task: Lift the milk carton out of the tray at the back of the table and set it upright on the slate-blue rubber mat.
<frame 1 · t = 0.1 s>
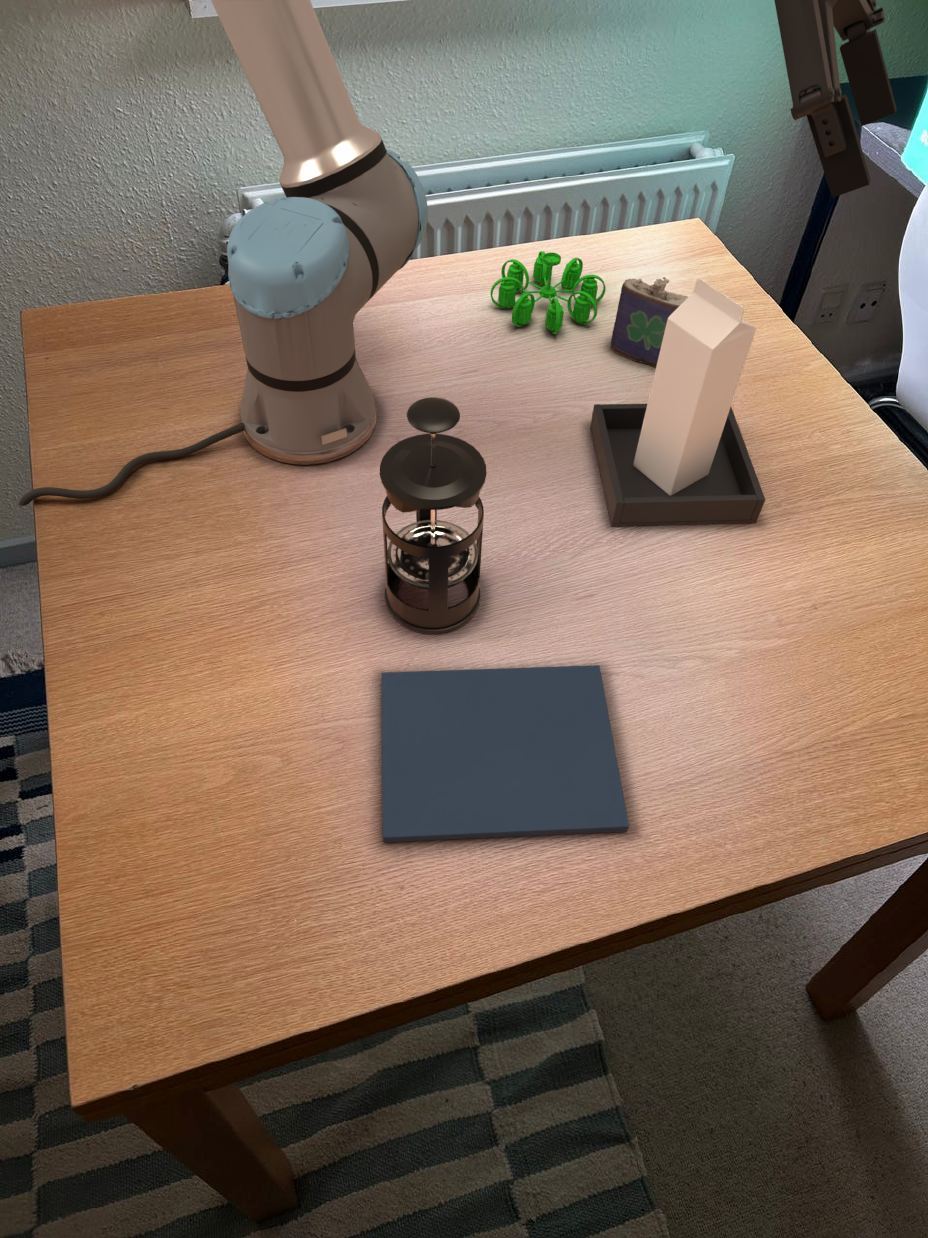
hand: (866, 152, 73), 36 cm above the table, tool tilted 35°, fingers open, 13 cm apart
mat: (498, 751, 79), on the table
milk: (670, 471, 101), resting on tray
tray: (669, 473, 101), on the table
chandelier: (546, 307, 120), on the table
flask: (643, 357, 114), on the table
french press: (432, 593, 90), on the table
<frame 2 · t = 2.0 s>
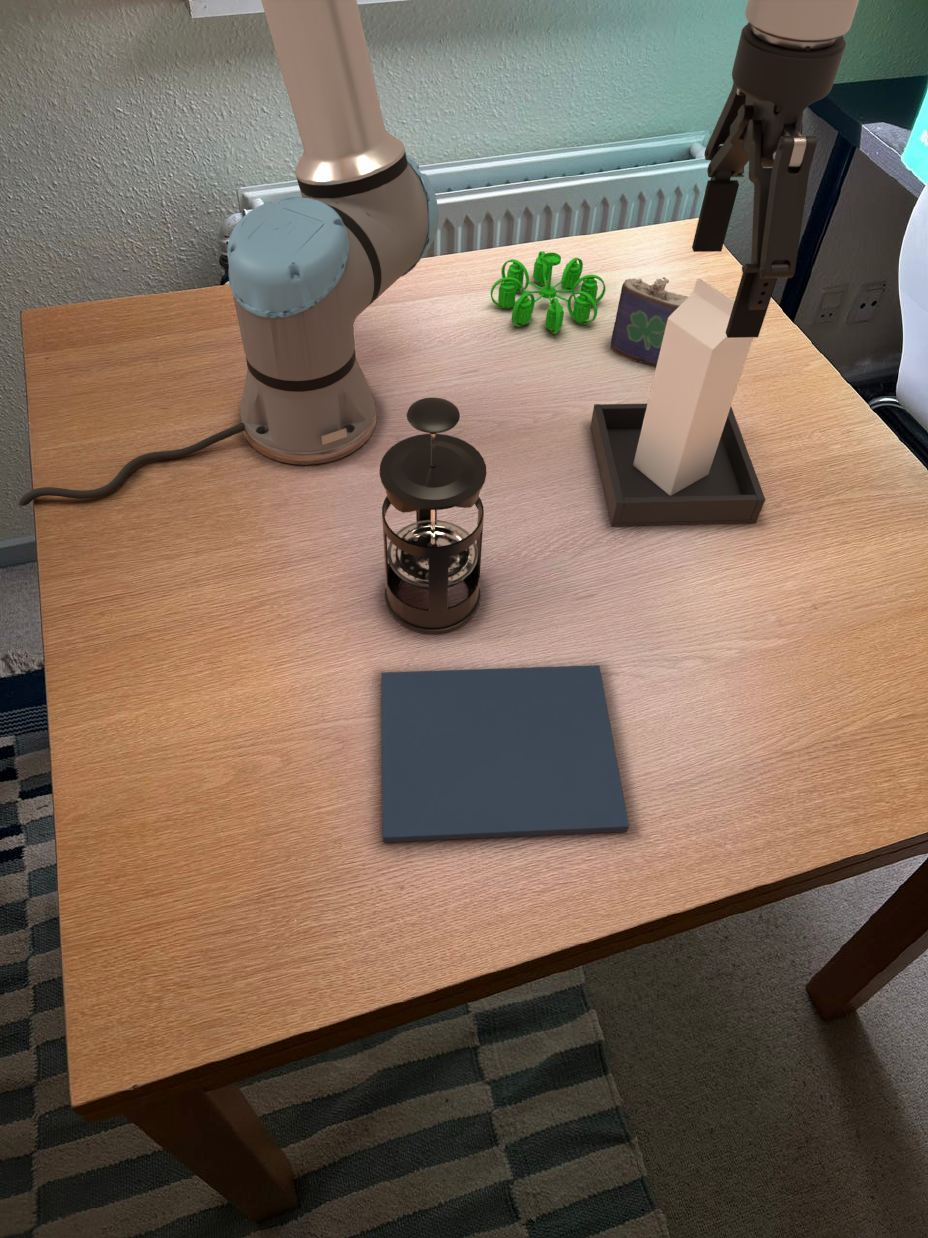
hand: (723, 290, 83), 23 cm above the table, tool pointing down, fingers open, 13 cm apart
nothing on the table moved.
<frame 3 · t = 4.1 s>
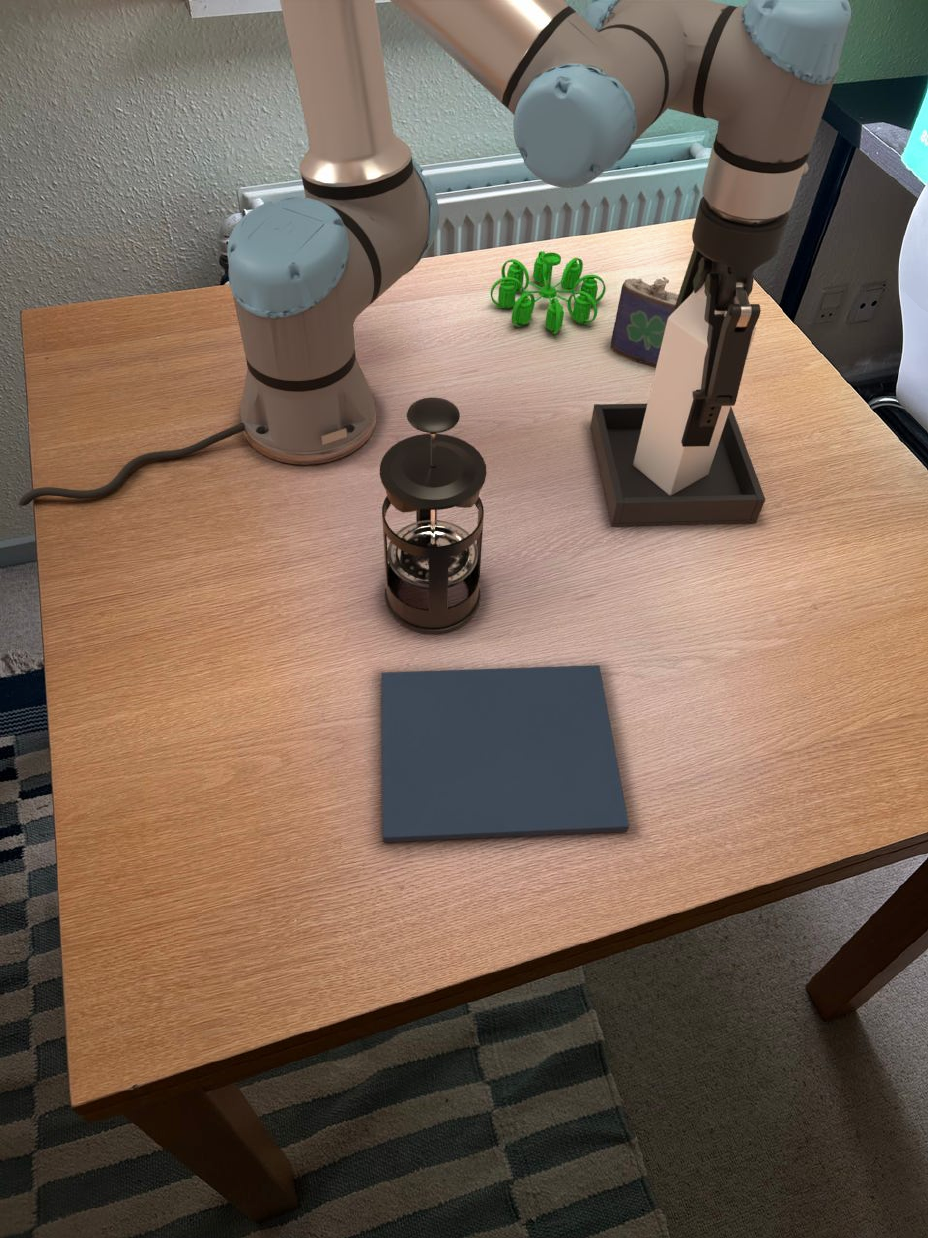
hand: (685, 414, 95), 8 cm above the table, tool pointing down, fingers closed on milk, 8 cm apart
milk: (669, 471, 101), resting on tray, touching gripper
everything else where it was.
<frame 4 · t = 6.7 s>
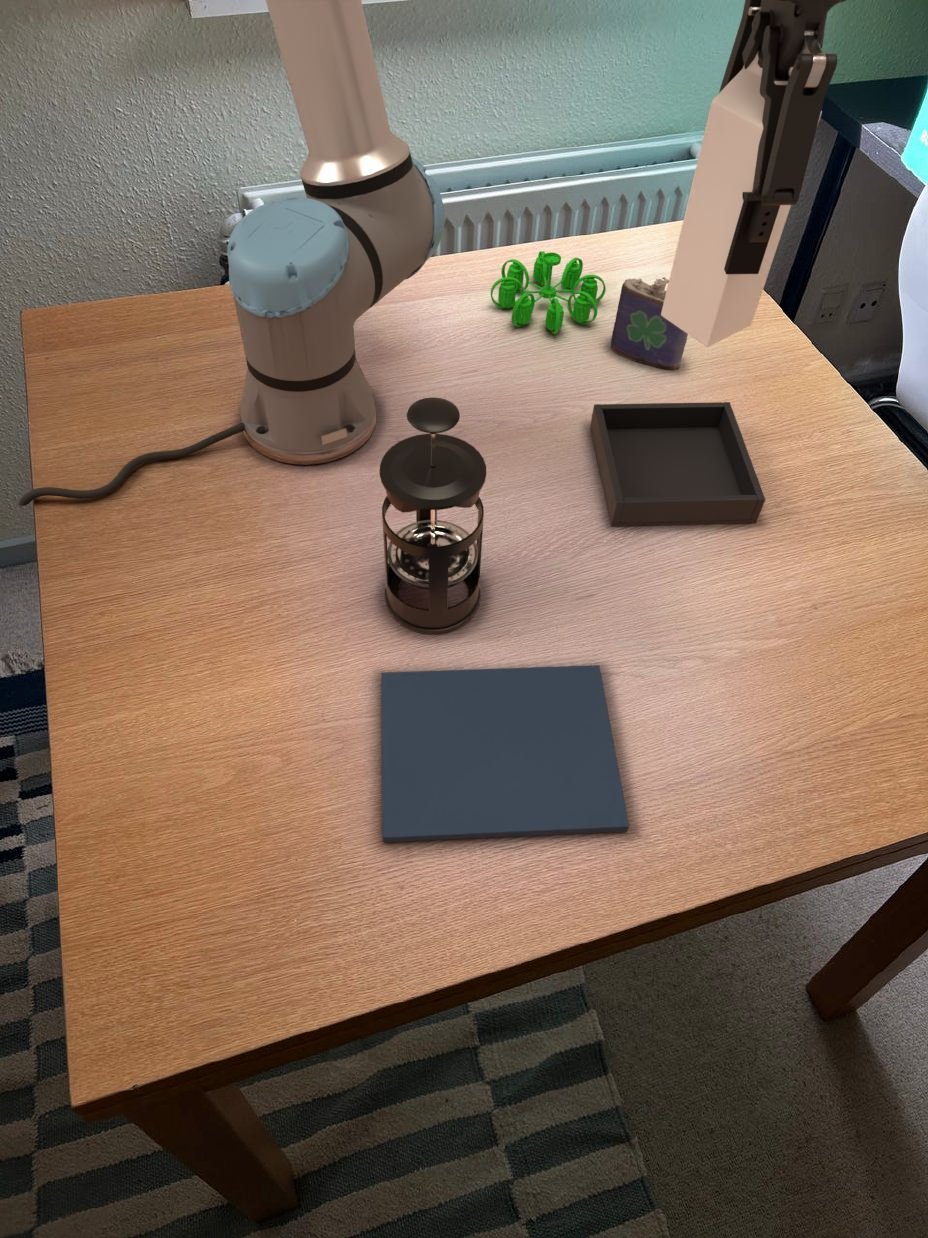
hand: (727, 241, 78), 28 cm above the table, tool pointing down, fingers closed on milk, 8 cm apart
milk: (705, 322, 84), point 20 cm above the table, touching gripper
everything else where it was.
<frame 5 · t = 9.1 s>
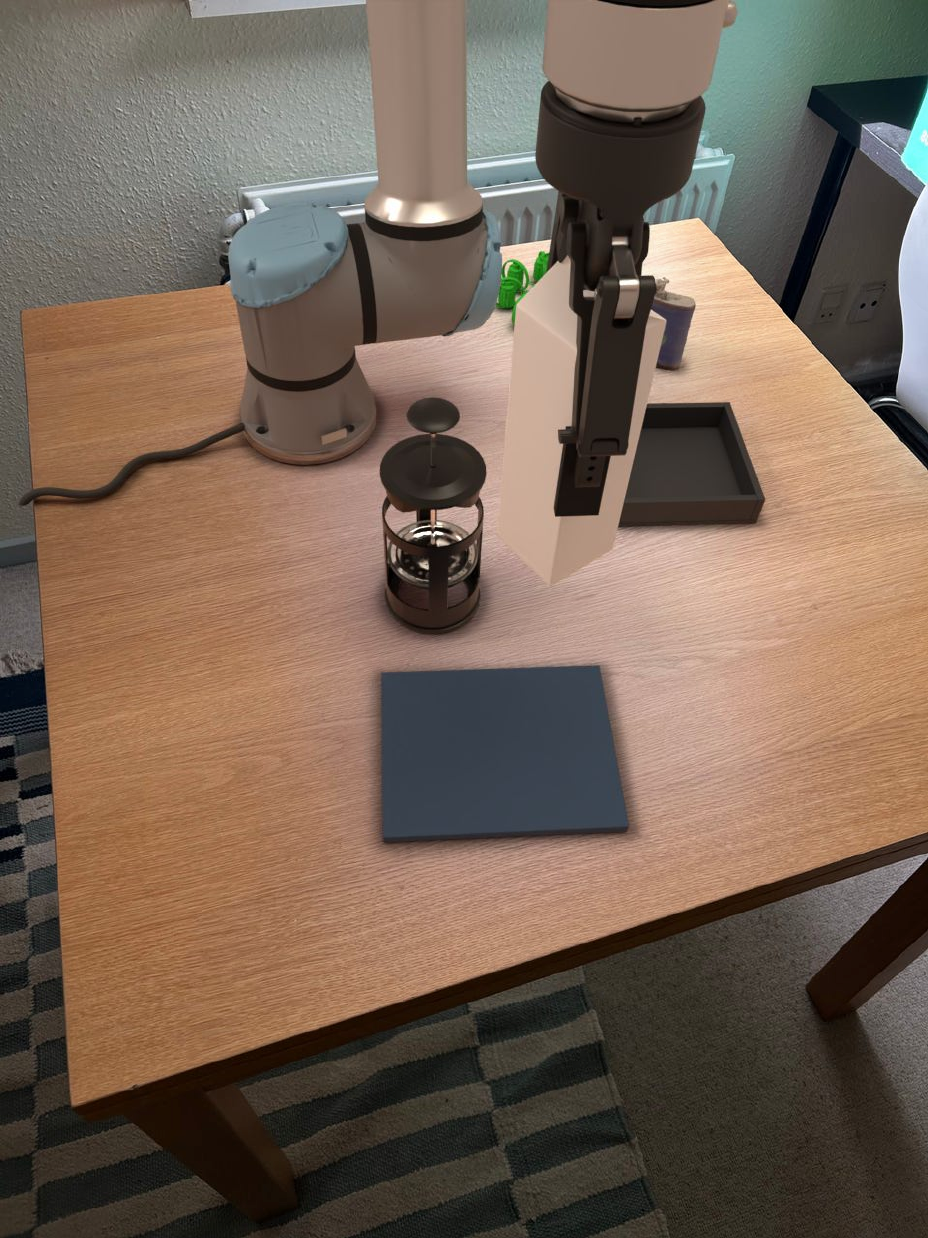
hand: (565, 462, 59), 29 cm above the table, tool pointing down, fingers closed on milk, 8 cm apart
milk: (553, 545, 65), point 21 cm above the table, touching gripper
everything else where it was.
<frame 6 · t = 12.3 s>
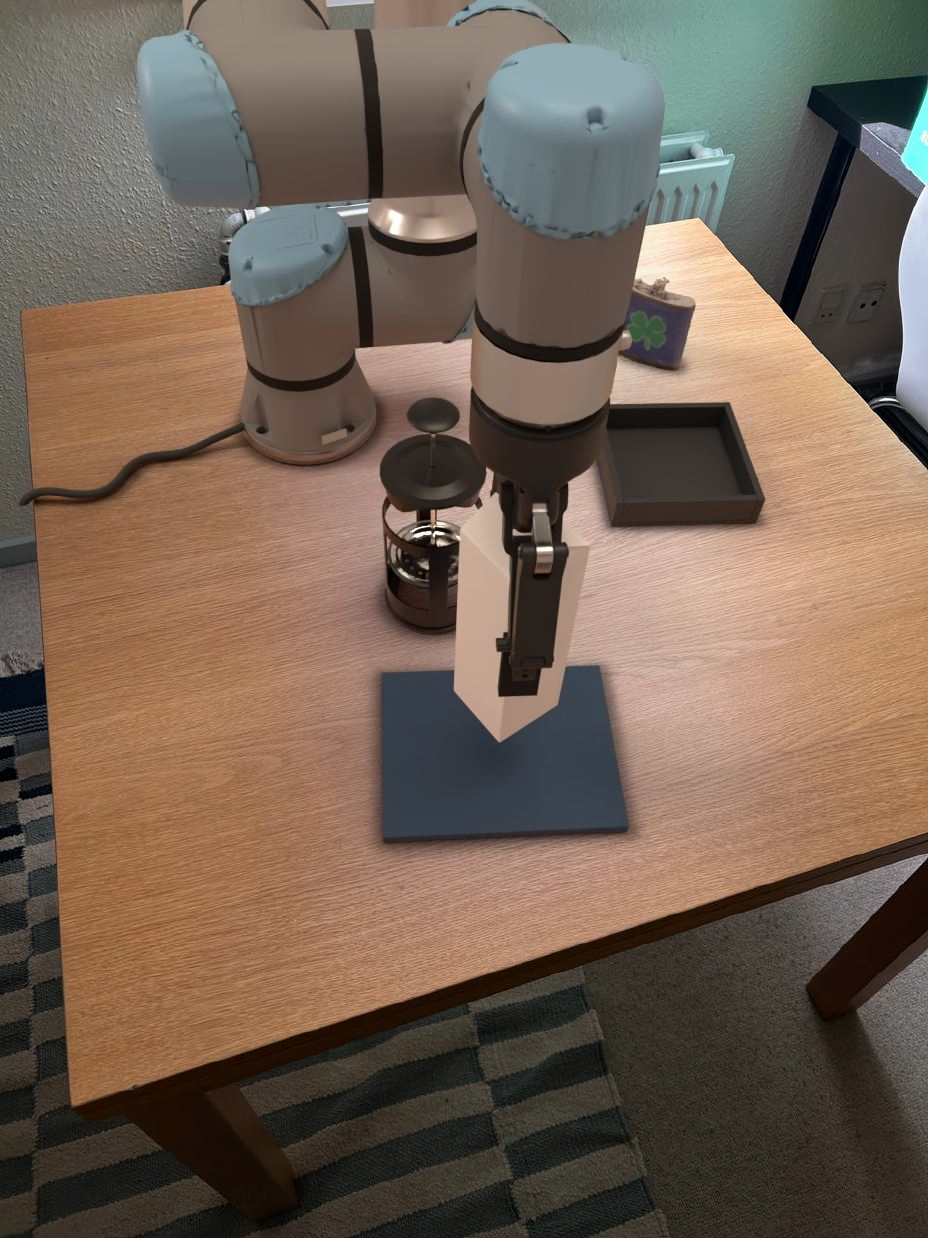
hand: (511, 640, 67), 16 cm above the table, tool pointing down, fingers closed on milk, 8 cm apart
milk: (505, 699, 73), point 8 cm above the table, touching gripper
everything else where it was.
when the fingers open (9 cm above the table, at t = 14.5 s): milk stays where it is, resting on mat.
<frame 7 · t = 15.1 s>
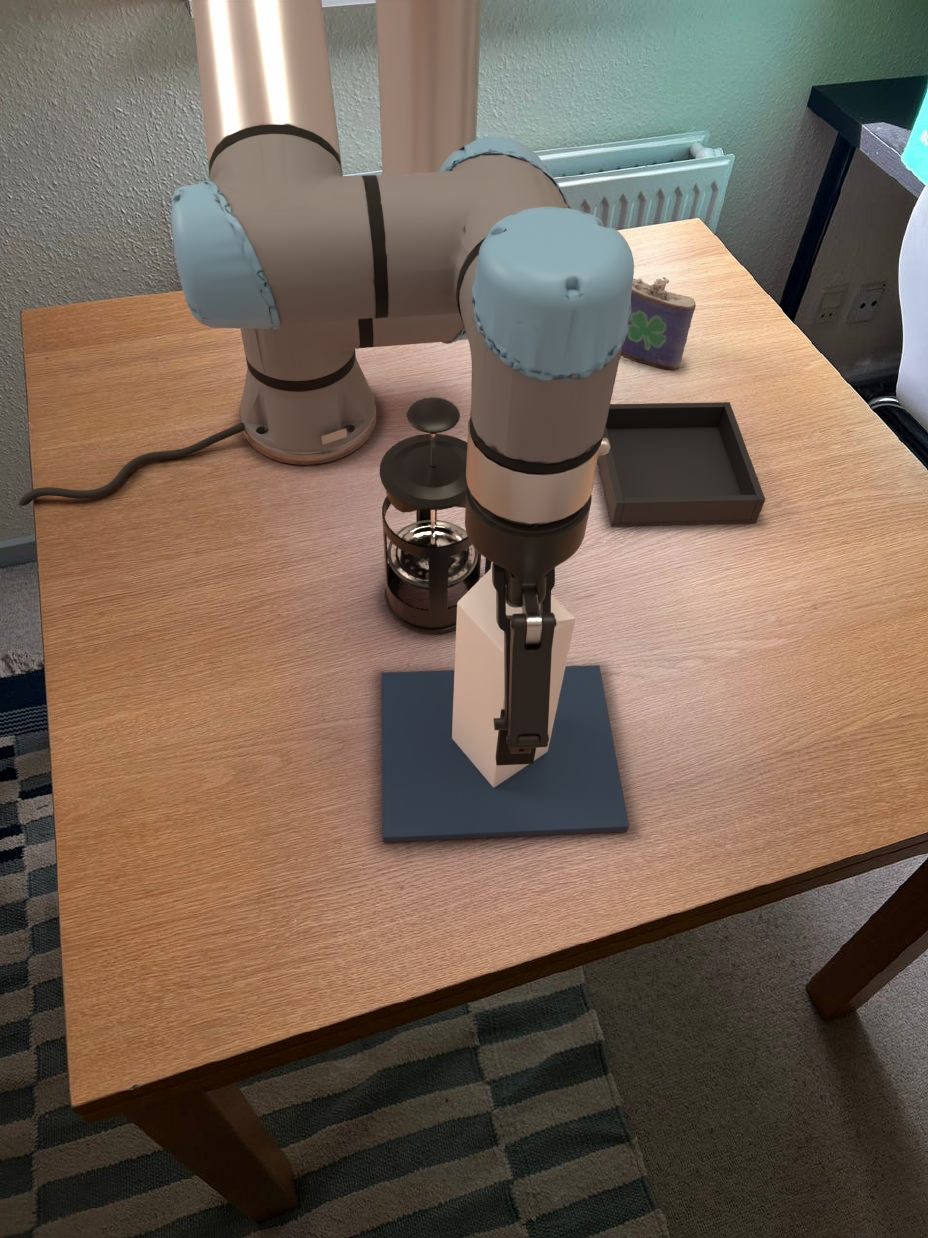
hand: (505, 682, 71), 11 cm above the table, tool pointing down, fingers open, 13 cm apart
milk: (499, 746, 79), point 1 cm above the table, touching mat
everything else where it was.
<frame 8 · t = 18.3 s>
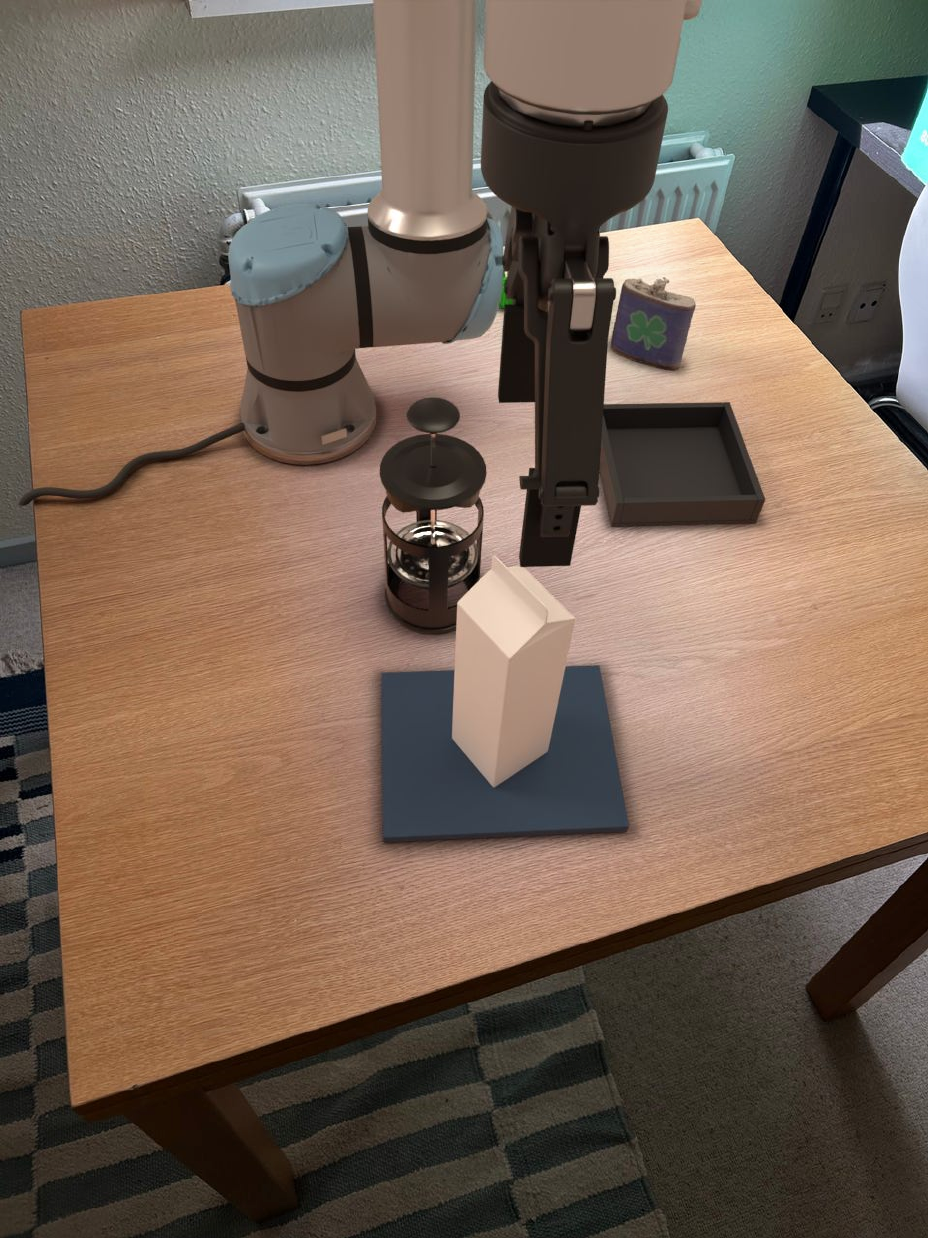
hand: (531, 474, 54), 33 cm above the table, tool pointing down, fingers open, 13 cm apart
nothing on the table moved.
at the end: milk inside the target area on the mat (0.1 cm from its centre), point 0.8 cm above the mat's base; milk tilted 0°; milk touching mat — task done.
